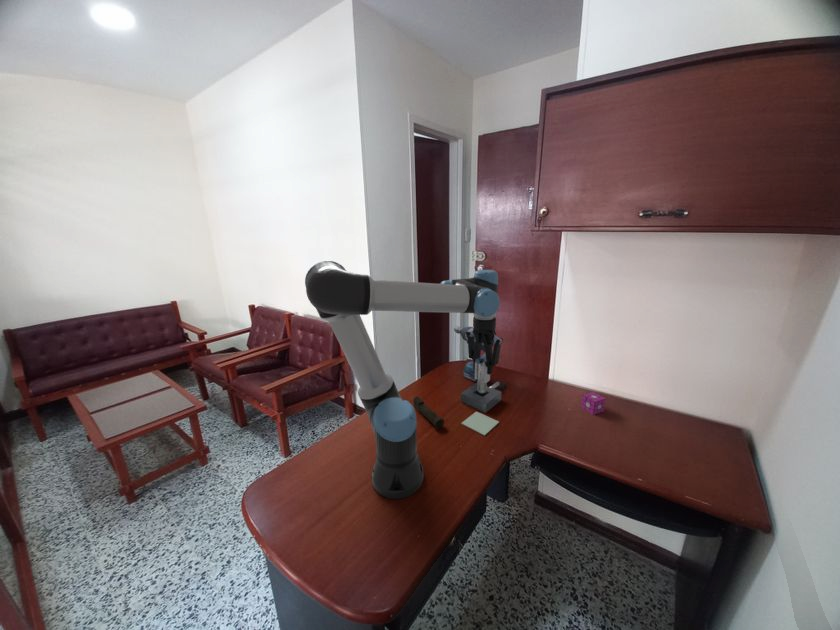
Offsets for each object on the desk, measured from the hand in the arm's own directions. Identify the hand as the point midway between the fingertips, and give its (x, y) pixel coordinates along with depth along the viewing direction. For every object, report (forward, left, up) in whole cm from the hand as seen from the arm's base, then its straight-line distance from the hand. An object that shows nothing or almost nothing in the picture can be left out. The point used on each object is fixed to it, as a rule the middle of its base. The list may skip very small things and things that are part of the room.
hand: (482, 379), depth 110 cm
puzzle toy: (+37, -28, -19) cm, 50 cm away
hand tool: (-10, +18, -19) cm, 28 cm away
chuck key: (0, 0, -5) cm, 5 cm away
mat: (0, 0, -18) cm, 18 cm away
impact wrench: (+28, +23, -18) cm, 41 cm away
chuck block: (+17, +8, -18) cm, 26 cm away
